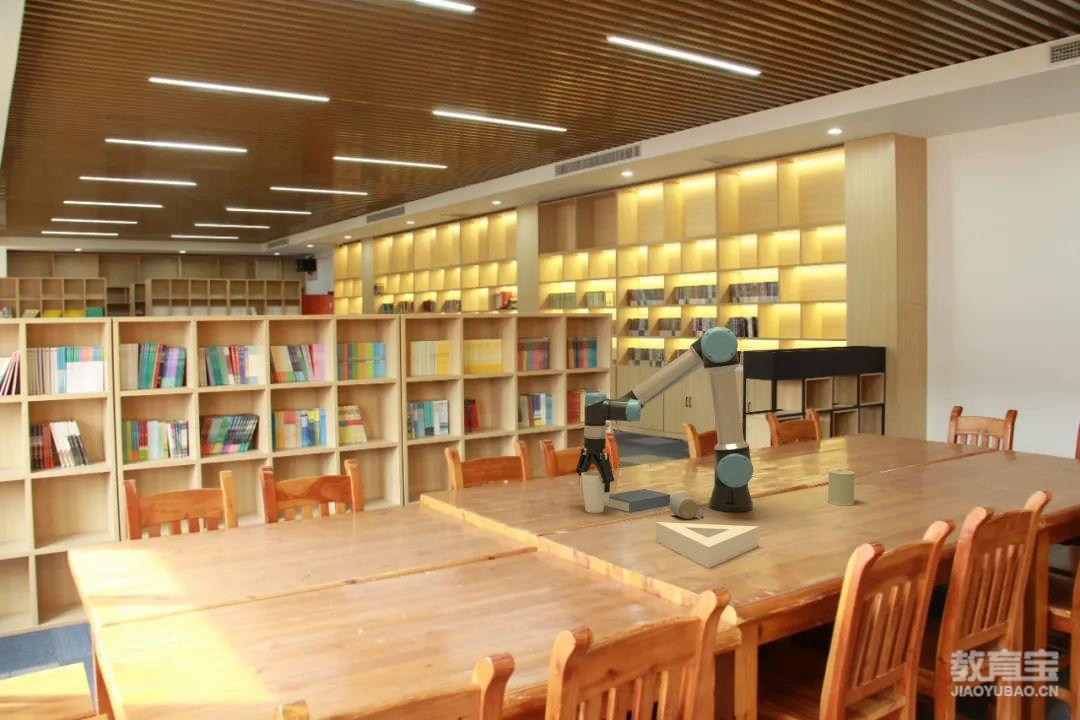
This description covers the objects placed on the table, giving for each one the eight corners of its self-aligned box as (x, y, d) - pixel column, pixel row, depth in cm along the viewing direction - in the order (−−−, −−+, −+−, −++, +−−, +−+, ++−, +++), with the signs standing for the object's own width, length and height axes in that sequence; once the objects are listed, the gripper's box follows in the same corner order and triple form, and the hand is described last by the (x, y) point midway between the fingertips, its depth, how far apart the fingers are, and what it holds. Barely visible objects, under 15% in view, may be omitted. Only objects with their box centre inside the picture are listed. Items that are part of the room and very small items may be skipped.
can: (850, 500, 312) (851, 468, 311) (857, 505, 302) (858, 472, 302) (825, 500, 312) (825, 468, 312) (831, 505, 303) (831, 472, 303)
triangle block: (655, 542, 252) (656, 521, 252) (730, 535, 261) (730, 515, 261) (708, 570, 224) (708, 547, 224) (790, 561, 233) (790, 539, 233)
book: (670, 506, 302) (670, 494, 302) (630, 514, 290) (630, 501, 290) (644, 500, 312) (644, 488, 312) (604, 507, 300) (604, 495, 300)
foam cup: (608, 513, 288) (608, 476, 287) (581, 513, 288) (581, 476, 288) (606, 507, 297) (607, 471, 297) (580, 507, 298) (581, 471, 297)
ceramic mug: (679, 520, 278) (679, 497, 278) (668, 515, 286) (669, 493, 286) (708, 519, 281) (708, 496, 281) (696, 514, 289) (697, 492, 289)
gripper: (625, 441, 283) (624, 503, 284) (584, 432, 304) (583, 490, 305) (606, 442, 279) (605, 505, 280) (566, 433, 301) (565, 492, 301)
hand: (594, 497), depth 293 cm, fingers open, 13 cm apart
